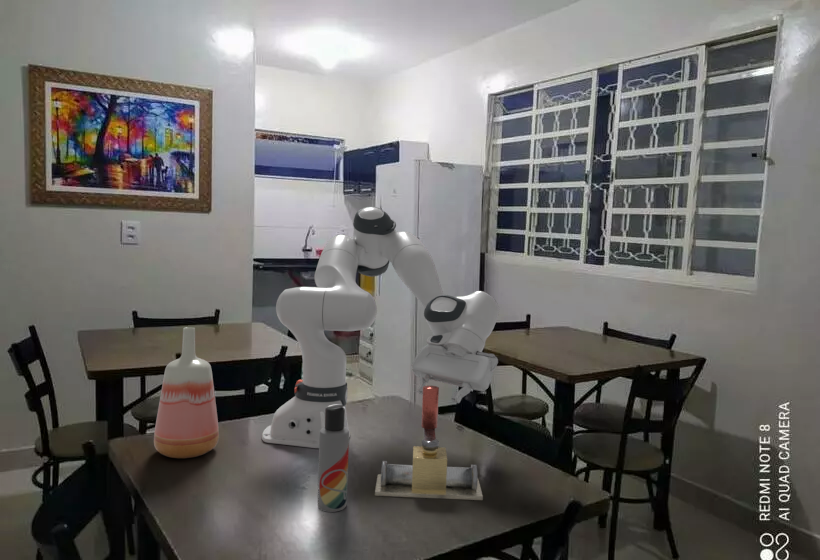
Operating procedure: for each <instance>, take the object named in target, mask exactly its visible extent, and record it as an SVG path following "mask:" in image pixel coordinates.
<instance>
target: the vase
mask: <svg viewBox="0 0 820 560" xmlns="http://www.w3.org/2000/svg"><path fill="white" fill-rule="evenodd" d="M161 385H162V386H161V392H160V397H159V403H158V407H157V415H156V421H155V427H154V434H153V446H154V448H155V450H156V451H157V452H158V453H159V454H160V455H162V456H165V457H168V458H172V459H191V458H196V457H199V456H202V455H205V454H207V453H209V452H211V451H212V450H213V449H214V448H216V446H217V445H218V443H219V439H220V432H219V431H220V430H219V429H220V428H219V422H218V421H219V420H218V419H219V418H218V412H217V411H218V410H217V404H216V396H215V386H214V378H213V371H212V366H211V364H210V362H208V361H207V360H205V359H204V358H200V357H198V356H197V354H196V327H190V326H188V327H183V328H182V346H181V355H180V357H179V358H177V359H174V360H172V361H170V362H168V364H167V365H166V367H165V369H164V375H163V380H162V384H161Z"/></svg>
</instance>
